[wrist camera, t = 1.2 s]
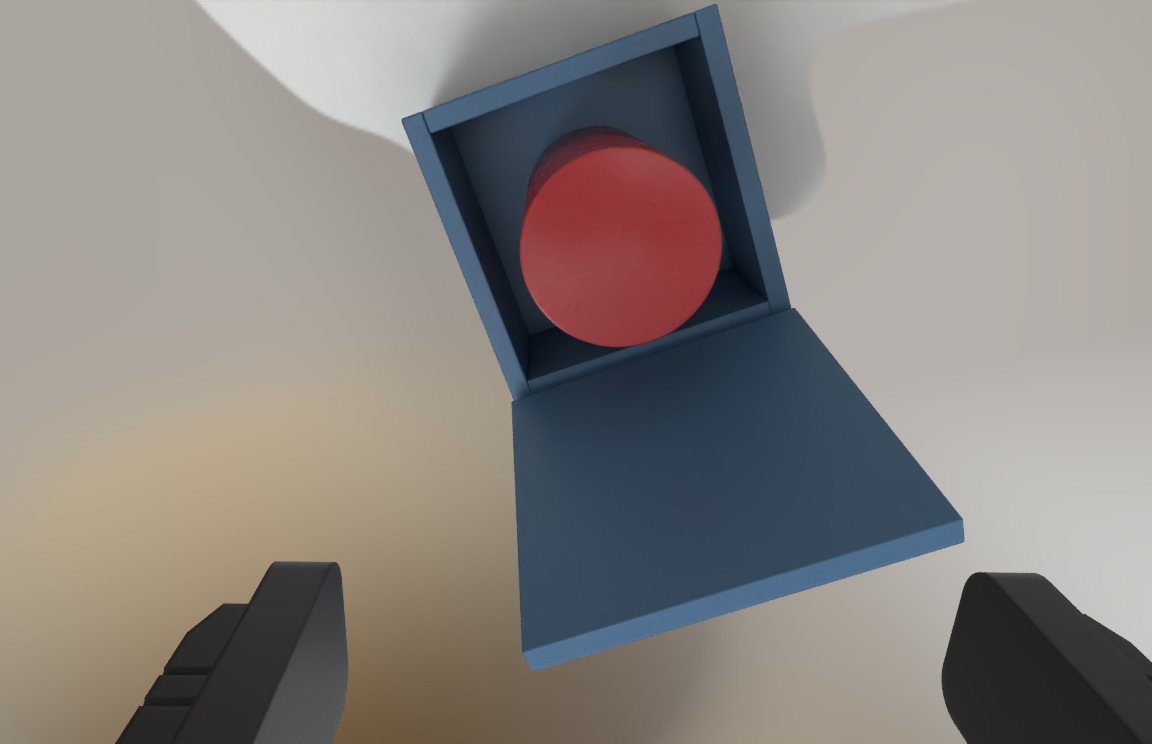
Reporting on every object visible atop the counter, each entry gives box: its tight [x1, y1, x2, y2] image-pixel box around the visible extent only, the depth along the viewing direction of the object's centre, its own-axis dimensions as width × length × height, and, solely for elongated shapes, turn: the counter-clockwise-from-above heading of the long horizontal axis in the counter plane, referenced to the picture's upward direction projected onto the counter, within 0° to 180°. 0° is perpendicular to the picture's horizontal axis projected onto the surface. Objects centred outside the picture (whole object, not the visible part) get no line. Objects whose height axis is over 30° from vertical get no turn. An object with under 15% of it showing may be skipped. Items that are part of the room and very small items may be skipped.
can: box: [520, 126, 722, 347], centre depth 29 cm, size 6×6×12 cm
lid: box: [512, 308, 964, 671], centre depth 25 cm, size 12×12×1 cm
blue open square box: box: [402, 4, 791, 401], centre depth 32 cm, size 12×12×7 cm
